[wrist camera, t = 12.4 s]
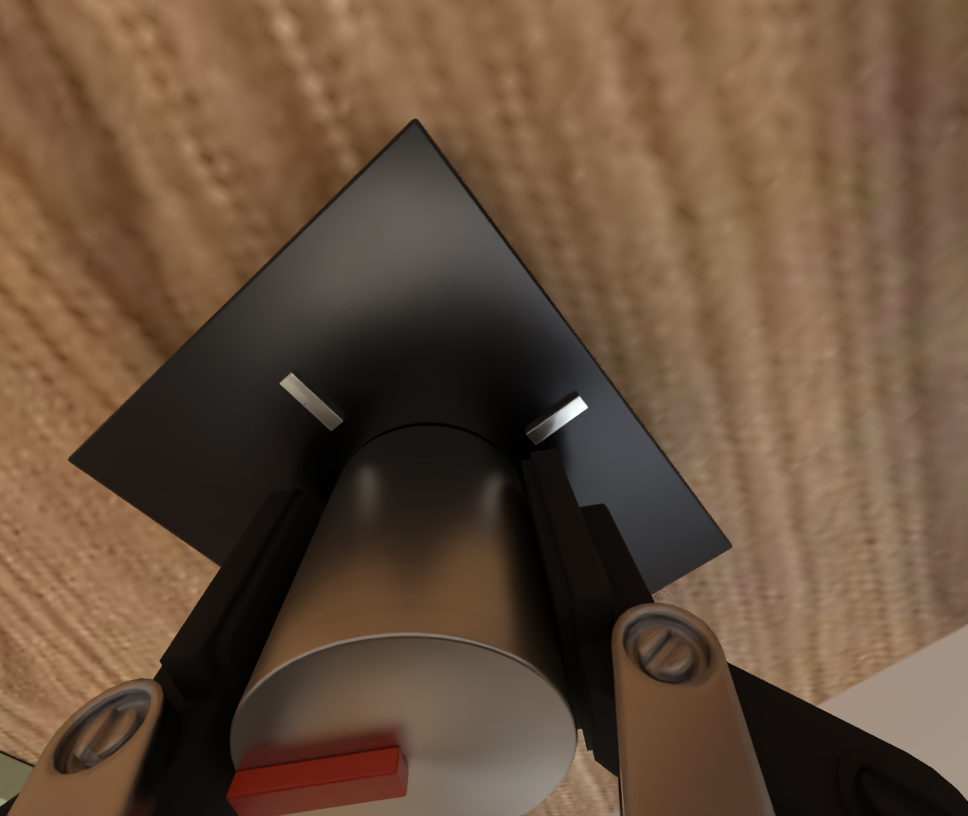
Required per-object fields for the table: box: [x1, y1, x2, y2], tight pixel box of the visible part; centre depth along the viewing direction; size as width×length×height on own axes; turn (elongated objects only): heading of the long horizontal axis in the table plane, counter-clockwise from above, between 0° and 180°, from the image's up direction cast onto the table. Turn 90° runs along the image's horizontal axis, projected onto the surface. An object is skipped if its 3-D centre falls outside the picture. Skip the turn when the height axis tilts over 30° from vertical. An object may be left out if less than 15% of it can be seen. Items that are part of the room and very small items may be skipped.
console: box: [68, 118, 732, 595], centre depth 12 cm, size 12×10×3 cm
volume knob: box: [226, 426, 578, 816], centre depth 8 cm, size 4×4×6 cm
